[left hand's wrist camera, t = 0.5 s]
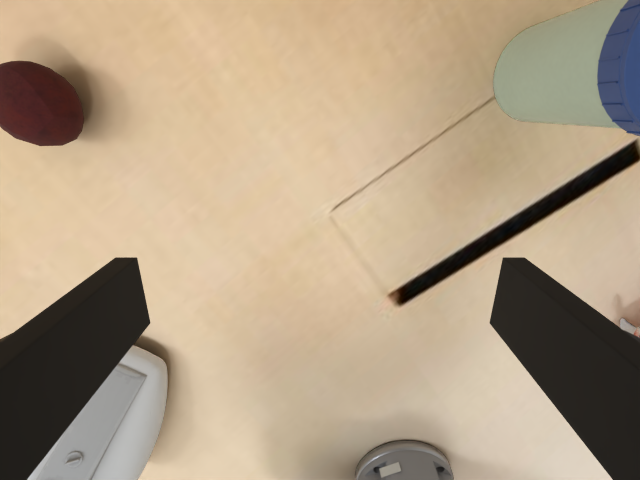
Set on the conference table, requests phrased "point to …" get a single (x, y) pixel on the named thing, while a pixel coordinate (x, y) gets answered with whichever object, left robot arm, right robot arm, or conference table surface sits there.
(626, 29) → the lid
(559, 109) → the jar
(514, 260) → the left robot arm
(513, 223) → the conference table surface
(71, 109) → the potato
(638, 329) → the fish
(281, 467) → the conference table surface
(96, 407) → the projector
